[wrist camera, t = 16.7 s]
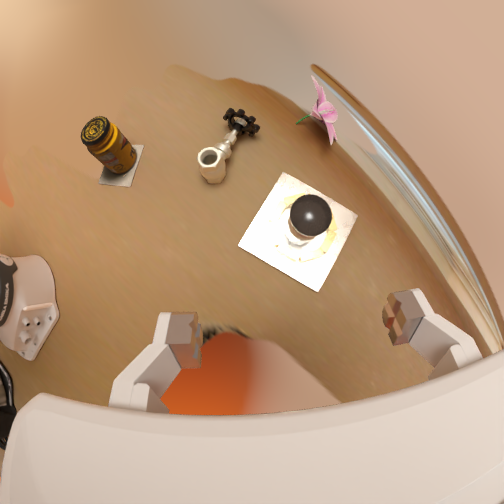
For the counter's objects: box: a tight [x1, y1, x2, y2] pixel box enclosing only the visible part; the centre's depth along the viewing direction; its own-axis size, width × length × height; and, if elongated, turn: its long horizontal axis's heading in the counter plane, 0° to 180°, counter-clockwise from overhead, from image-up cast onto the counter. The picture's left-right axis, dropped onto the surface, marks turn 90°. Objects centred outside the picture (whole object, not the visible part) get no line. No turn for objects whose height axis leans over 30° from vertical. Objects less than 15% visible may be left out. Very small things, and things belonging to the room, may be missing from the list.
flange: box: [238, 172, 358, 292], centre depth 42 cm, size 14×14×3 cm
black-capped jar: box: [285, 194, 332, 245], centre depth 38 cm, size 5×5×9 cm
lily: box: [296, 76, 338, 145], centre depth 43 cm, size 12×12×10 cm
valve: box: [196, 108, 260, 184], centre depth 42 cm, size 7×7×12 cm
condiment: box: [81, 116, 144, 187], centre depth 40 cm, size 7×8×12 cm
